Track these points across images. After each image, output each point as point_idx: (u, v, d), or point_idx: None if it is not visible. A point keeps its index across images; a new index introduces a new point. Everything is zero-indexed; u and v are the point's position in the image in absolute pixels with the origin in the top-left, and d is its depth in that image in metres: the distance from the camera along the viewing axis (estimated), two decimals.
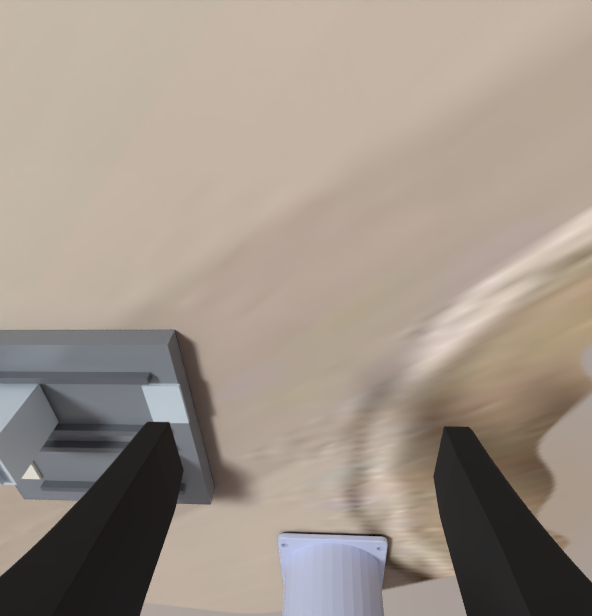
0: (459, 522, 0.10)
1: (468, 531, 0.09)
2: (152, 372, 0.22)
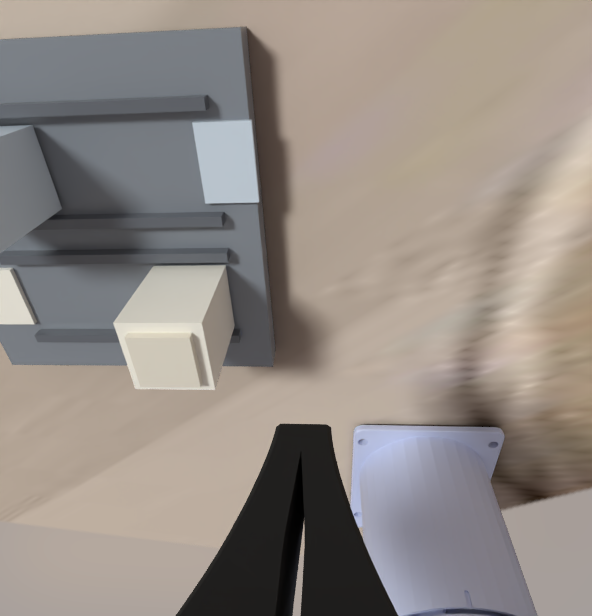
0: None
1: None
2: (210, 95, 0.14)
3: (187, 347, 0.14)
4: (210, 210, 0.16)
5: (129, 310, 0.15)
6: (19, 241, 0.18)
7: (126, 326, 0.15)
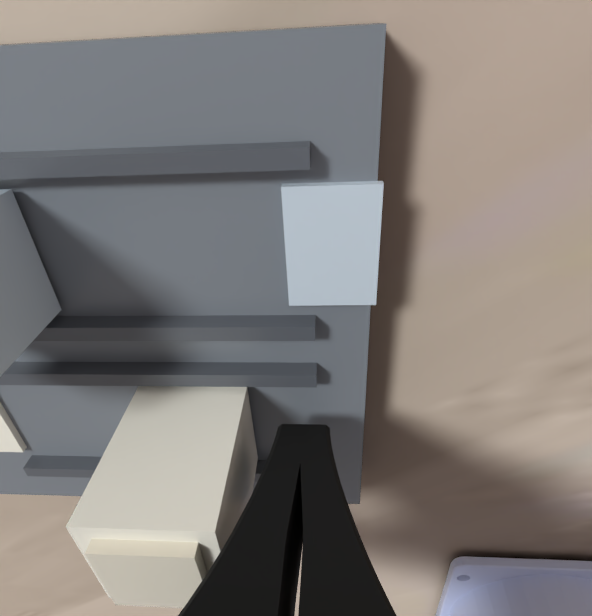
0: None
1: None
2: (314, 141, 0.08)
3: (190, 567, 0.09)
4: (294, 313, 0.10)
5: (95, 493, 0.09)
6: None
7: (88, 530, 0.09)
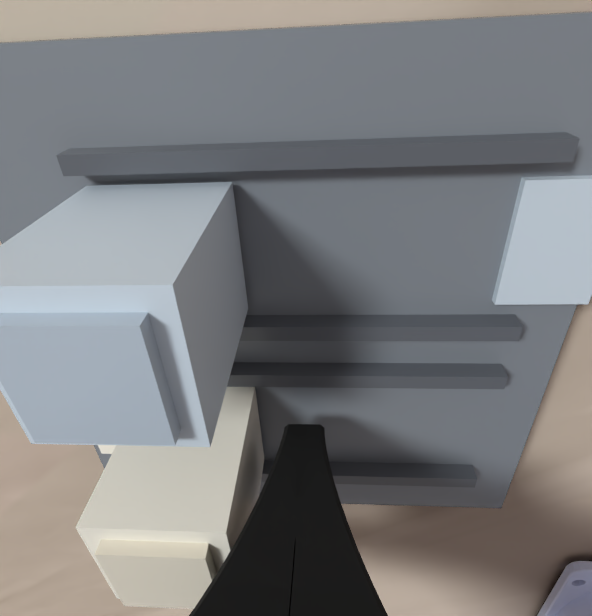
0: None
1: None
2: (571, 132, 0.08)
3: (201, 568, 0.09)
4: (493, 312, 0.10)
5: (105, 494, 0.09)
6: None
7: (98, 531, 0.09)
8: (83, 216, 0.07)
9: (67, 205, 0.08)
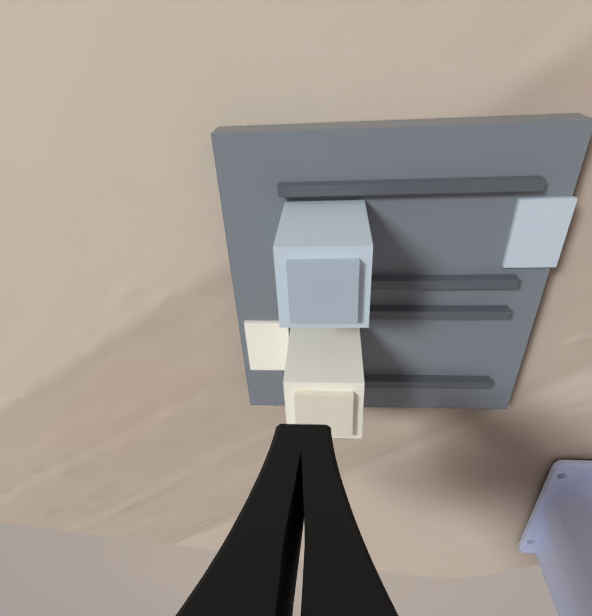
0: None
1: None
2: (543, 175, 0.15)
3: (349, 404, 0.16)
4: (502, 273, 0.18)
5: (292, 369, 0.17)
6: None
7: (294, 385, 0.16)
8: (302, 218, 0.15)
9: (286, 212, 0.16)
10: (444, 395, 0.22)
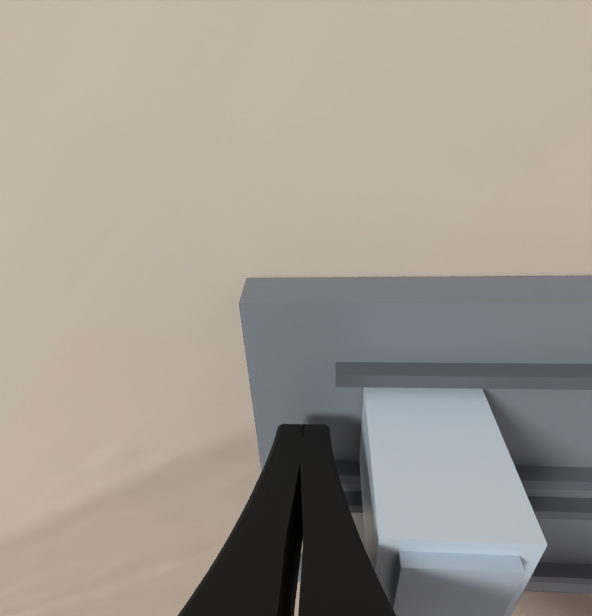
0: None
1: None
2: None
3: None
4: None
5: None
6: (359, 483, 0.14)
7: None
8: (402, 439, 0.10)
9: (374, 419, 0.10)
10: None
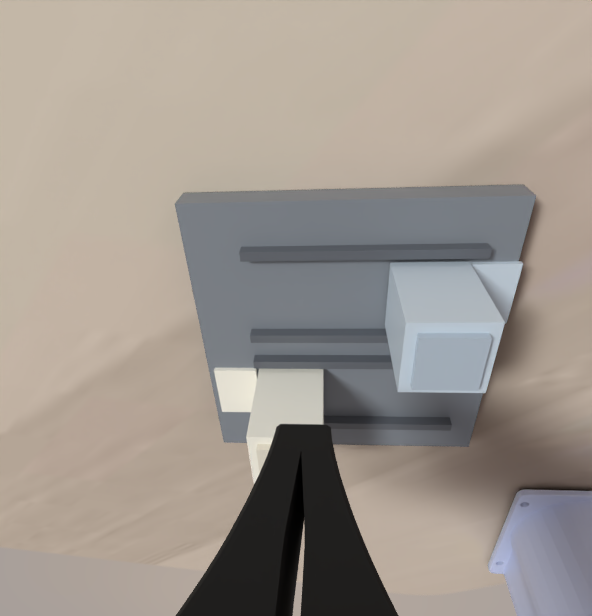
0: None
1: None
2: (490, 243, 0.16)
3: None
4: None
5: (256, 423, 0.18)
6: (271, 348, 0.20)
7: (256, 439, 0.17)
8: (418, 284, 0.15)
9: (399, 276, 0.16)
10: (408, 434, 0.23)
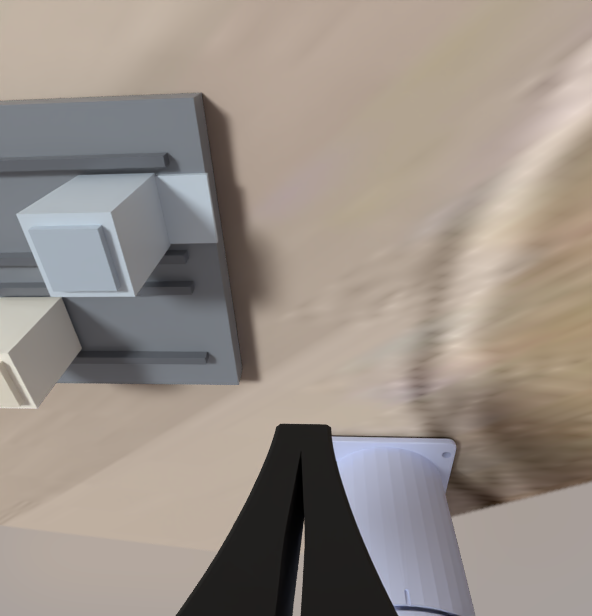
0: None
1: None
2: (169, 152, 0.16)
3: None
4: (174, 249, 0.18)
5: None
6: (4, 274, 0.20)
7: None
8: (75, 189, 0.15)
9: (68, 184, 0.16)
10: (175, 371, 0.22)
